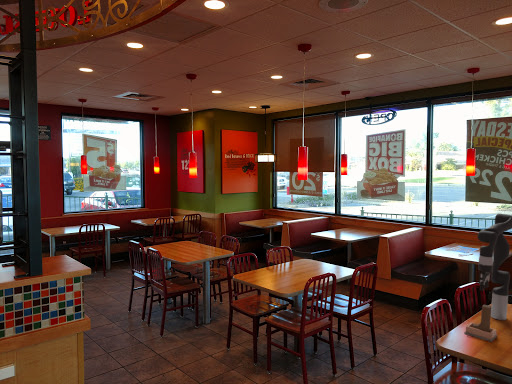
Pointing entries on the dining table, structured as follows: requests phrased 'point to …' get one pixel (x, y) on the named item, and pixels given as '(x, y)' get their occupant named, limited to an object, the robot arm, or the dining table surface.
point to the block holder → (480, 333)
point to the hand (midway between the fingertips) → (483, 288)
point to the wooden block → (484, 319)
